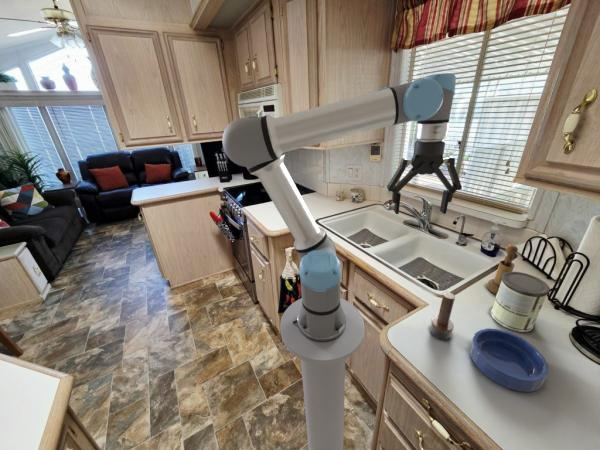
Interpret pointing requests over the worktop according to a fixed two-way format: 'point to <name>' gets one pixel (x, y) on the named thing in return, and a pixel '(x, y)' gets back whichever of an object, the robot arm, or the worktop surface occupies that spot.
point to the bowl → (508, 360)
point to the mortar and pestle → (503, 269)
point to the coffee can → (519, 301)
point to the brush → (443, 318)
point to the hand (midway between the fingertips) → (419, 212)
